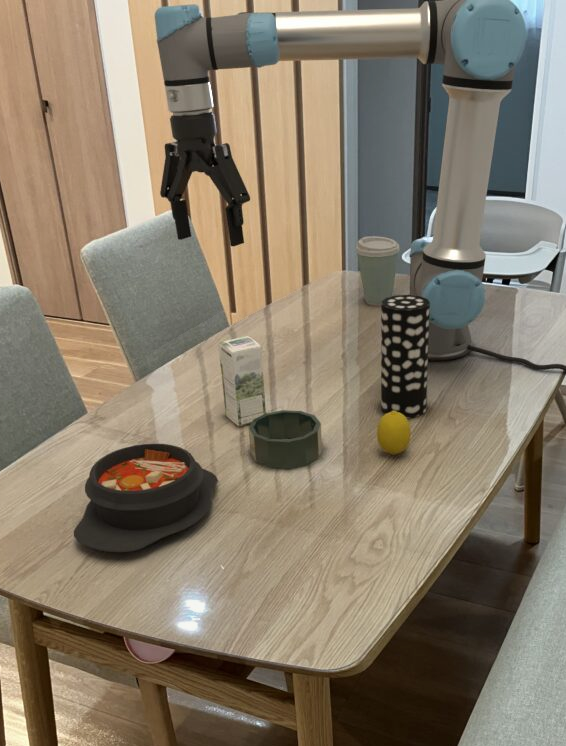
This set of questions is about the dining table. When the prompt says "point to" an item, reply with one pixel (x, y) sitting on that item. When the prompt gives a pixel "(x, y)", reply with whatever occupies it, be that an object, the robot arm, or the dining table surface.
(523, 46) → the robot arm
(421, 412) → the white-spotted black cylinder
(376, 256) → the disposable coffee cup
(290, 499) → the dining table surface
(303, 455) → the crock
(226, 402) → the syrup box
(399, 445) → the lemon
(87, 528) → the casserole
